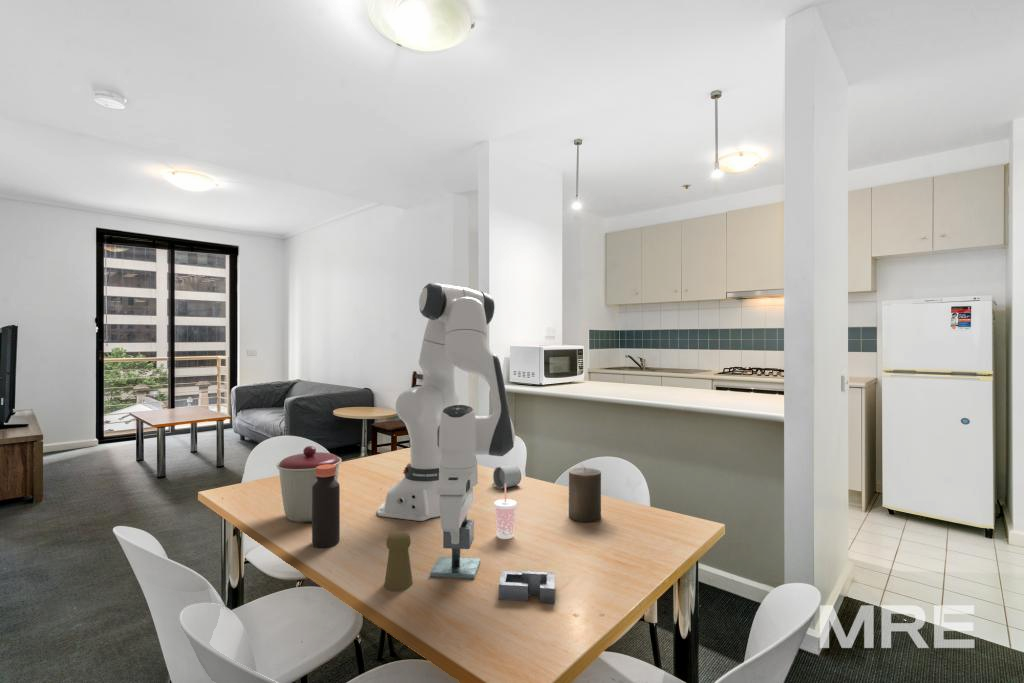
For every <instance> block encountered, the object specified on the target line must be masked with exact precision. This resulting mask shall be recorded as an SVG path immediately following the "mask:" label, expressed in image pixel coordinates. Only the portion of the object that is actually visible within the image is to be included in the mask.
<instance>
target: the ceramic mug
mask: <svg viewBox="0 0 1024 683" xmlns="http://www.w3.org/2000/svg"><path fill="white" fill-rule="evenodd" d="M492 477H493V478H492V479H493V483H494V485H495V486H496V488H498V489H501V490H502V489H505V484H506V489H508V488H511V487H515V486H518V485H519V484H520V483H521V480H522V472H521V470H520V467H518V466H517V465H503V466H501V465H500V466H496V467H495V469H493V473H492Z"/></svg>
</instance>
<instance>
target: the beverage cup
mask: <svg viewBox="0 0 1024 683" xmlns="http://www.w3.org/2000/svg"><path fill="white" fill-rule="evenodd" d="M517 504H518V503H517V501H516V500H514V499H510V498H507V488H506V484H505V488H504V498H502V499H501V498H500V499H497V500H496V501H494V502H493V507H494V509H495V510H494V512H495V524H496V525H495V526H496V527H495V528H496V537H497V538H499V539H501V540H509V539H512V538H514V536H515V522H516V507H517Z"/></svg>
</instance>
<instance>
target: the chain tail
mask: <svg viewBox="0 0 1024 683" xmlns="http://www.w3.org/2000/svg"><path fill="white" fill-rule="evenodd" d="M499 578H500V579H499V581H498V600H508V601H509V600H510V601H522V602H523V601H525V602H528V601H529V595H530V596H531V595H533V596H539V604H552V605H553V604H554V605H555V603H556V572H550V571H528V570H522V571H511V570H509V571H507V570H502V571H501V574H500V577H499Z"/></svg>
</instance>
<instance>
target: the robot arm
mask: <svg viewBox="0 0 1024 683" xmlns="http://www.w3.org/2000/svg"><path fill="white" fill-rule="evenodd" d="M418 300H419V301H418V305H419V307H418V308H419V313H420V314H421V315H422V316H423V317H425V318H427V319H428V321H427V323H426V327H425V329H424V330H425V331H424V334H423V339H422V342H421V343H422V344H421V349H420V354H419V359H418V366H419V367H420V368H421V371H422V378H423V380H422V381H423V382H422V385H420V386H419V385H418V386H413V387H411V388H408V389H407V390H405V391H403V392H401V393H400V394H399V396H398V397H397V399H396V401H395V412H396V414H397V416H398V417H399V419H400V420H401V421H402V422H403V423H404V425H405V426H406V427H405V428H406V430H407V432H408V436H409V443H410V462H409V463H408V464H406V466H405V467H404V469H403V470H402V471H403V472H402V473H403V475H404V477H402V479H400V480H398V482H396V483H395V484H394V485H393V486H391V487H390V488H389V489H388V491H387V493H386V496H385V501H384V502H383V503H382V504H381V505H380V506H379V507H378V508H377V516H379V517H385V518H393V519H400V520H409V521H418V522H419V521H420V522H422V521H426V520H428V519H431V518H432V519H433V518H438V517H439V518H440V519H439V520H440V527H441V530H442V532H443V531H446V532H450V534H451V543H452V544H459V542H460V533H459V529H460V526H461V524H462V522H463V521H464V519H466V520H468V514H469V511H470V509H471V507H472V505H473V503H474V487H476V486H477V485H478V481H479V479H478V477H479V476H478V473H479V472H478V459H477V455H479V456H481V455H483V456H485V455H486V456H493V457H495V456H496V457H504V456H505V455H507V454H508V453H509V452H510V451H511V450H512V449H513V448H514V447H515V446H514V445H515V442H516V432H515V427H514V424H513V421H512V419H511V415H510V412H509V411H510V410H509V403H508V397H507V396H508V395H507V391H506V386H505V380H504V379H505V378H504V376H503V373H502V372H503V371H502V365H501V362H500V359H499V357H498V355H497V354H495V353H493V352H492V351H491V349H490V347H489V343H488V327H487V326H488V325H489V324H490V323H491V322H492V320H493V317H494V314H495V308H496V307H495V301H494V298H493V297H492V295H490V294H488V293H486V292H483V291H478V290H475V289H472V288H469V287H464V286H457V285H450V284H442V283H440V282H430V283H427V284H426V285H425V286H424V287H423V288H422V290H421V292H420V295H419V299H418ZM455 368H458V369H459V370H462V371H464V372H467V373H470V374H472V375H476V376H478V377H479V378H481V379H483V380H484V381H485V382H487V384H488V387H489V392H490V398H491V404H492V411H493V412H492V414H489V415H480V414H479V415H476V414H475V410H474V408H473V407H471V406H469V405H465V404H459V399H460V398H459V394H458V391H457V390H456V387H455ZM439 419H440V422H439Z"/></svg>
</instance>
